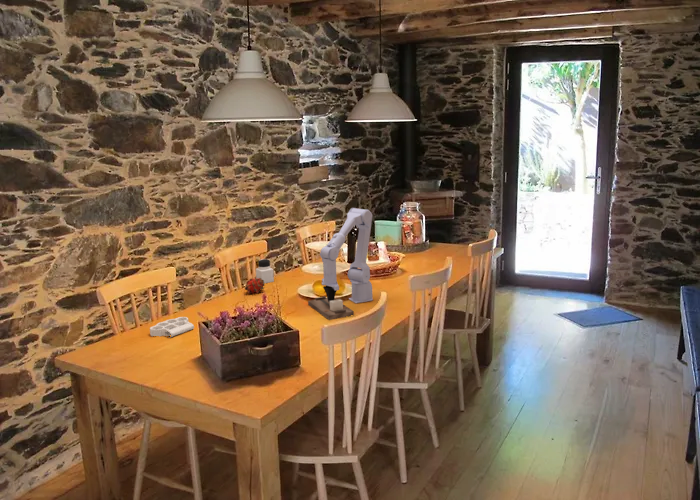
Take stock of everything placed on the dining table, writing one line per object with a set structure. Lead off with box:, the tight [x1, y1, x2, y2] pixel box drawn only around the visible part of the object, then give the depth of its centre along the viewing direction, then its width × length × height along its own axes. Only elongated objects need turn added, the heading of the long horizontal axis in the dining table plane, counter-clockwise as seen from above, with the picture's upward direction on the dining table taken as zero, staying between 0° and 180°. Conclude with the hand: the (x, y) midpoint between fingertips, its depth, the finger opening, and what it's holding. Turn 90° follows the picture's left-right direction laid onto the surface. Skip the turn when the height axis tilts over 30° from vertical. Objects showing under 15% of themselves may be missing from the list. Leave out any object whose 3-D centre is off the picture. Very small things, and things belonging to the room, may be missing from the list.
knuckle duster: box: [149, 316, 195, 338], centre depth 256 cm, size 3×18×15 cm
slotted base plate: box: [307, 295, 355, 321], centre depth 276 cm, size 12×24×3 cm, turn 26°
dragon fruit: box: [244, 276, 266, 295], centre depth 305 cm, size 8×8×12 cm
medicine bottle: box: [255, 258, 275, 285], centre depth 324 cm, size 7×7×12 cm
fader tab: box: [330, 298, 344, 311], centre depth 269 cm, size 5×3×4 cm, turn 116°
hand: (331, 301), depth 274 cm, fingers closed
